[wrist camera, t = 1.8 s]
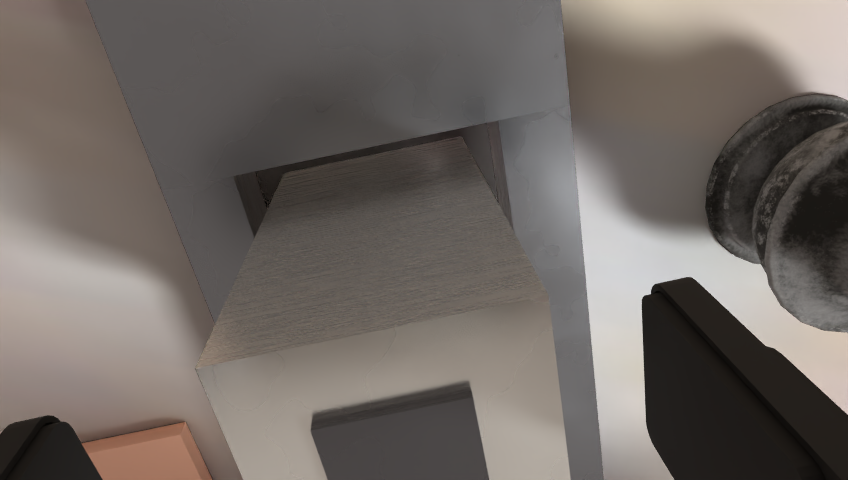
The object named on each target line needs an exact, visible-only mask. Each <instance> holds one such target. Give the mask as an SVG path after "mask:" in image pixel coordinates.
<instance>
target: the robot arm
mask: <svg viewBox="0 0 848 480" xmlns="http://www.w3.org/2000/svg"><path fill="white" fill-rule="evenodd" d="M642 324H643V351H644V378H645V405H646V424H647V429H648V433H649V436H650V439H651V441H652V443H653V445H654V447H655V448H656V450H657V452H658V453H659V455H660V457H661V458H662V460H663V462H664V463H665V465H666V467H667V468H668V470H669V471H670V473H671V475H672V476H673V478H674V480H848V415H847V414H846V413H845V412H844V411H843V410H842V409H841V408H840V407H838V406H837V405H836V404H835V403H834V402H833V401H832V400H831V399H830V398H829V397H828V396H827V395H825V394H824V393H823V392H822V391H821V390H820V389H819V388H818V387H817V386H816V385H815V384H814V383H813V382H811V381H810V380H809V379H808V378H807V377H806V376H805V375H804V374H803V373H802V372H801V371H800V370H798V369H797V368H796V367H795V366H794V365H793V364H792V363H791V362H790V361H789V360H788V359H787V358H785V357H784V356H783V355H782V354H781V353H779V352H778V351H777V350H775V349H774V348H770V347H767V346H765V345H764V344H763V343H762V342H761V341H760V340H758V339H757V338H756V337H755V336H754V335H753V334H752V333H751V332H750V331H749V330H748V329H747V328H746V327H745V326H744V325H743V324H742V323H740V322H739V321H738V320H737V319H736V318H735V317H734V316H733V315H732V314H731V313H730V312H729V311H728V310H727V309H726V308H725V307H723V306H722V305H721V304H720V303H719V302H718V301H717V300H716V299H715V298H714V297H713V296H712V295H711V294H710V293H709V292H708V291H707V290H705V289H704V288H703V287H702V286H701V285H700V284H699V283H698V282H697V281H696V280H695V279H693V278H692V277H686V278H681V279H677V280H672V281H667V282H663V283H658V284H655V285H654V286H653V287H652V290H651V294H650V295H646V296H644V297H643V299H642ZM0 480H103V479H102V478H101V476H100V474H99V472H98V471H97V469H96V467H95V466H94V464H93V462H92V461H91V459H90V457H89V455H88V454H87V452H86V450H85V449H84V447H83V445H82V444H81V442H80V440H79V439H78V437H77V435H76V433H75V432H74V430H73V428H72V427H71V426H70V425H69V424H68V423H66V422H60V420H59V419H58V418H56V417H54V416H43V417H38V418H34V419H29V420H25V421H20V422H15V423H13V424H10V425H8V426H7V427H6V428H5V429H4V430H3V432H2V433H1V434H0Z"/></svg>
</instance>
